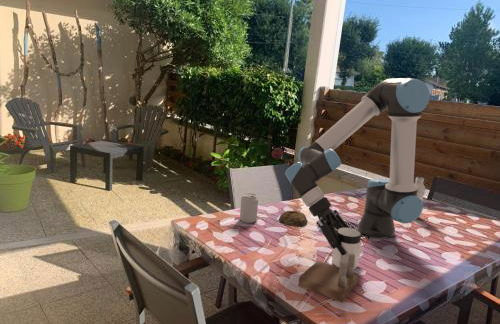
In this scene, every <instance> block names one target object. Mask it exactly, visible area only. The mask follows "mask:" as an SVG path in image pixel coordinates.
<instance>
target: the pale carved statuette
mask: <svg viewBox="0 0 500 324" xmlns="http://www.w3.org/2000/svg"><path fill="white" fill-rule="evenodd" d="M413 183H414V184H415V185H416V186H417V197H419V198H420V200H421V201H422V202H423V199H424V196H425V192H426V186H425V185H424V183H425V177H421V176H416V177H415V181H414V182H413ZM422 214H423V212H422V213H421V214H420V216H419V217H417V218H416V219H420V218H421V217H422Z"/></svg>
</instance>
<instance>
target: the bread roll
mask: <svg viewBox="0 0 500 324" xmlns="http://www.w3.org/2000/svg"><path fill="white" fill-rule="evenodd" d="M306 216H307V215H306V214H304V212H301V211H298V210H287V211H284V212H282V213H281V214H280V216H279V218H278V222H279V223H281V224H284V225H286V226H292V227H294V226H295V227H300V228H301V227H305V226H306V225H307V224H308V219H307V217H306Z"/></svg>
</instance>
